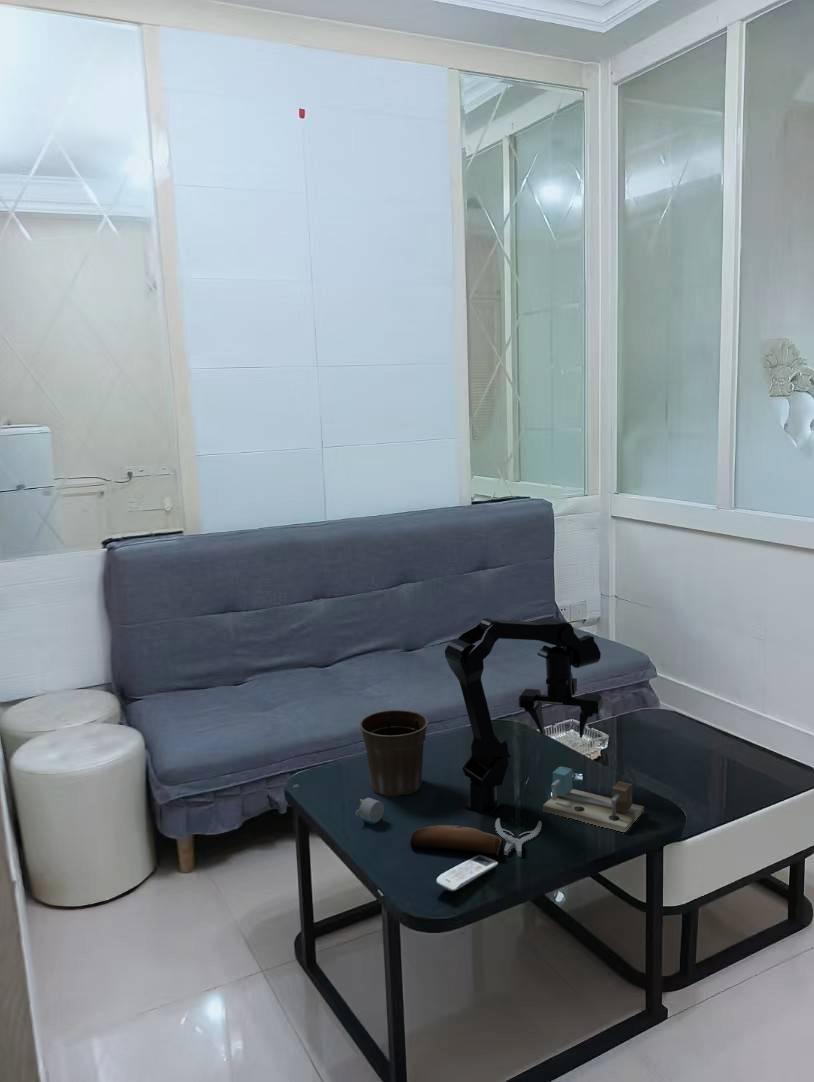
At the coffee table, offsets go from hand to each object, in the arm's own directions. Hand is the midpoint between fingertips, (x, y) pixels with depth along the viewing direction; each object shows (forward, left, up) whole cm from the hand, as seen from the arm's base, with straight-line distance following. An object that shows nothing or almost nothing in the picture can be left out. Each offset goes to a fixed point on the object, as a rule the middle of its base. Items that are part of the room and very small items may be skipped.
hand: (561, 735), depth 202 cm
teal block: (-10, -4, -10) cm, 14 cm away
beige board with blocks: (-10, -12, -12) cm, 20 cm away
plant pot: (-22, +33, -12) cm, 41 cm away
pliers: (-29, -3, -13) cm, 31 cm away
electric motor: (-39, +28, -12) cm, 49 cm away
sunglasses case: (-37, +6, -12) cm, 40 cm away
